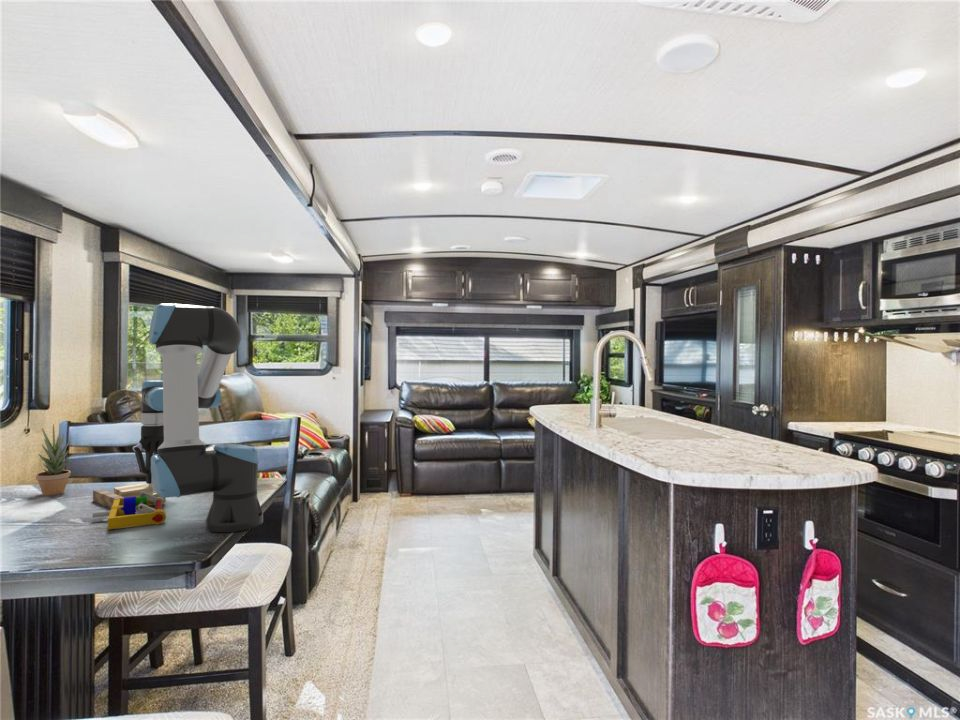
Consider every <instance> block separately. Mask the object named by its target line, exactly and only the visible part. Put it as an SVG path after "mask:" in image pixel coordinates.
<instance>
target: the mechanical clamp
mask: <svg viewBox="0 0 960 720" xmlns="http://www.w3.org/2000/svg"><path fill="white" fill-rule="evenodd" d="M165 503H166V498H163V497H160V496H159V495H158V494H157V493H154V494H153V495H151V494H149V493H147V492H144V491H142V492H141V493H140V496H134V497H124V498H122V499H115V500H114V503H113V505H112V508H110V510H103V511H95V512H92V518H101V517H102V518H104V517H107V530H115V529H123V528H132V527H141V526H148V525H161V524H163V523H164V522H165V521H166V519H167V513H166V511H165V510H164V509H163V508H162V506H163V505H165ZM151 506H154V507H155V508H153V507H151ZM137 509H138V510H139V511H142V512H143V513H137Z"/></svg>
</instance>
